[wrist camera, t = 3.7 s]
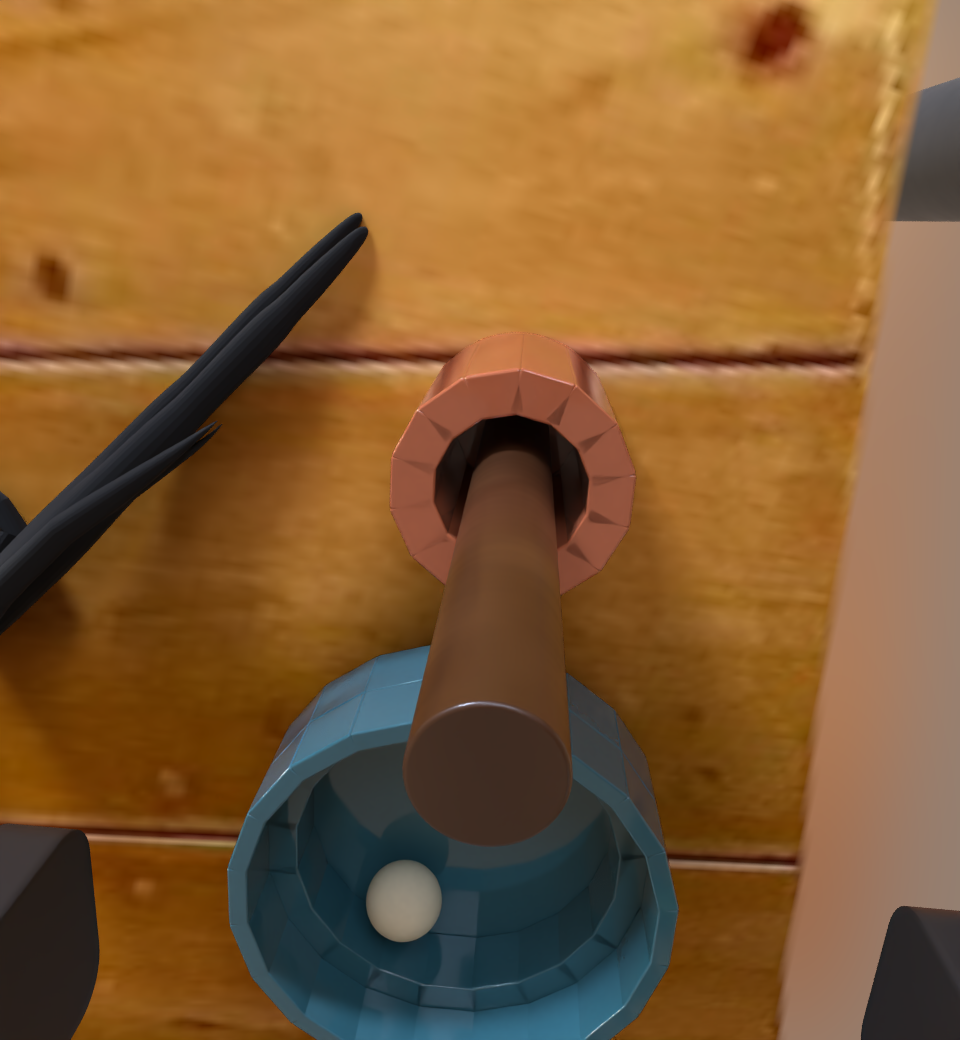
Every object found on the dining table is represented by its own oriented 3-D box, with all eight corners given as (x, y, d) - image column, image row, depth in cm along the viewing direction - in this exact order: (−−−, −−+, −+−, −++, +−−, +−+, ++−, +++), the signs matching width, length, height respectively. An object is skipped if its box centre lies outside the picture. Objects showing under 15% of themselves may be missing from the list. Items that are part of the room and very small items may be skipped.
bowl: (677, 654, 33) (707, 744, 27) (629, 972, 38) (646, 1104, 32) (273, 621, 34) (220, 702, 28) (278, 939, 39) (234, 1062, 33)
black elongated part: (154, 11, 21) (-416, 653, 26) (404, 278, 25) (-127, 787, 30) (186, 14, 28) (-268, 520, 33) (378, 223, 32) (-50, 644, 37)
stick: (551, 399, 30) (581, 710, 11) (545, 462, 31) (564, 856, 12) (486, 394, 30) (404, 695, 11) (482, 457, 31) (398, 842, 12)
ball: (447, 847, 36) (439, 901, 33) (443, 906, 37) (435, 963, 34) (374, 840, 36) (360, 893, 33) (372, 899, 37) (358, 956, 34)
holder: (619, 337, 30) (649, 377, 22) (599, 521, 32) (619, 616, 24) (429, 323, 30) (393, 358, 22) (421, 507, 32) (386, 596, 24)
